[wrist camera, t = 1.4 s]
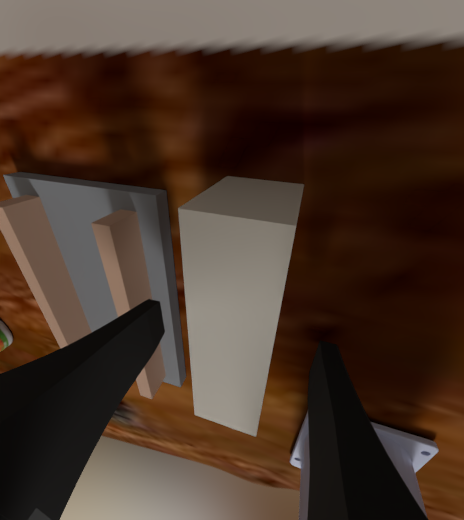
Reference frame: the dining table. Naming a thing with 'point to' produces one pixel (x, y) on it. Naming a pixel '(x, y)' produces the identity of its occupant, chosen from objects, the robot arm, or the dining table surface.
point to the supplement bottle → (5, 336)
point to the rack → (96, 259)
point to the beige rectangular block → (235, 291)
